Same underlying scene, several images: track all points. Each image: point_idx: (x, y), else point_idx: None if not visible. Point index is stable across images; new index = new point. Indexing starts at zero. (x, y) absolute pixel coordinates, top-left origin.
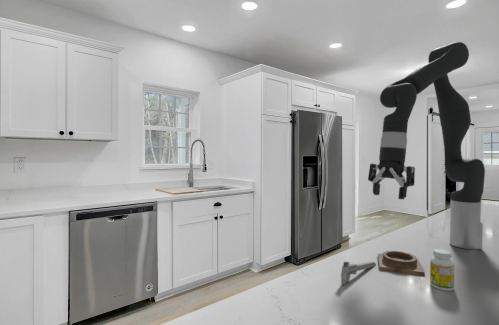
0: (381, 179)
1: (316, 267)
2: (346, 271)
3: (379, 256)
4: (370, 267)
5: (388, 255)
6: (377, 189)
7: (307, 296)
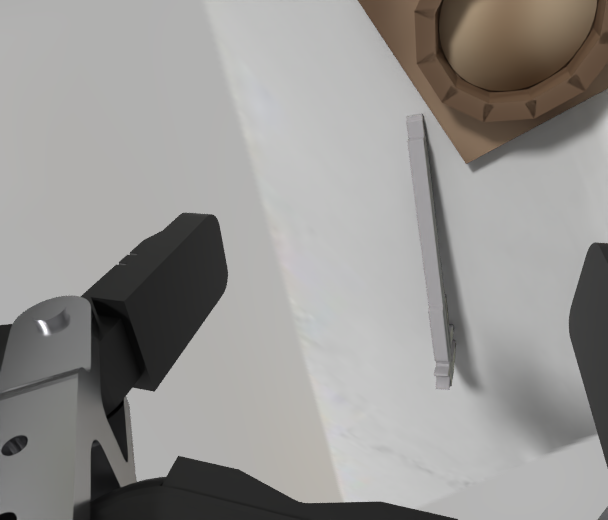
0: (94, 394)
1: (308, 298)
2: (451, 369)
3: (389, 36)
4: (430, 176)
5: (436, 19)
6: (188, 300)
7: (427, 422)
